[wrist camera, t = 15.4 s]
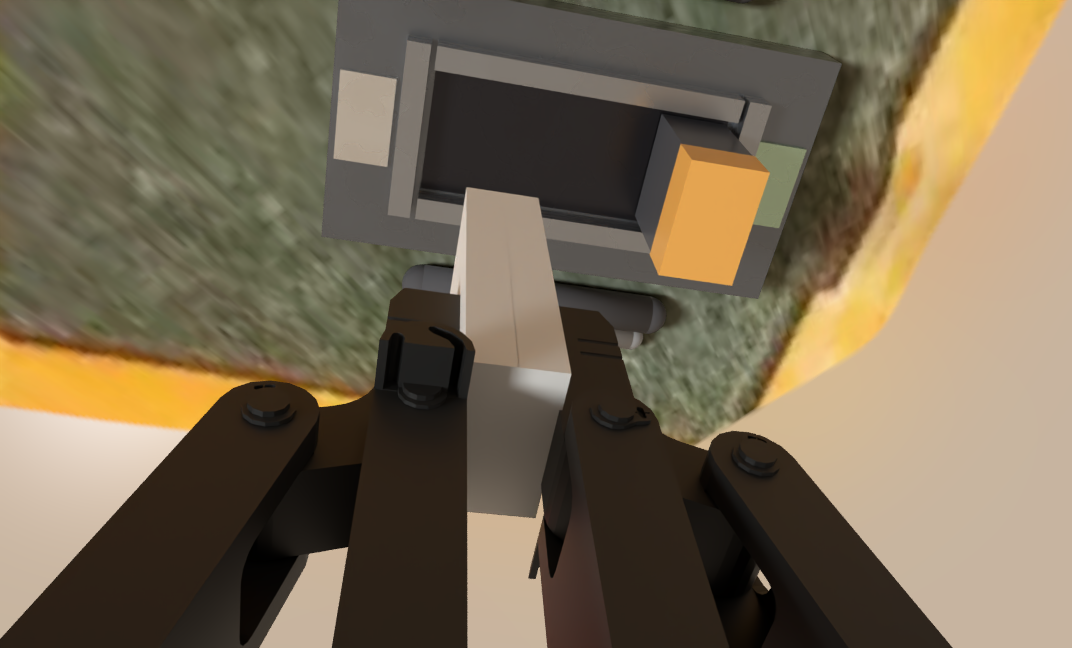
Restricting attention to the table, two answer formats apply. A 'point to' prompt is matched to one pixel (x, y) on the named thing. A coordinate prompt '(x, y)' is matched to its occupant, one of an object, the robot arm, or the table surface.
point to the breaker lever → (699, 200)
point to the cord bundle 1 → (571, 303)
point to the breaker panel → (551, 123)
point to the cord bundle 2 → (740, 1)
